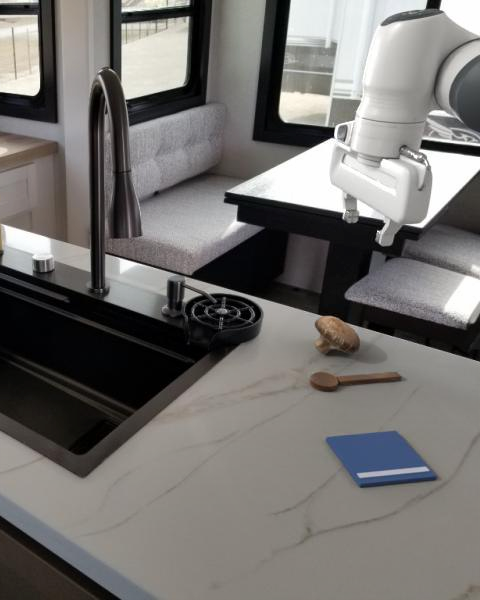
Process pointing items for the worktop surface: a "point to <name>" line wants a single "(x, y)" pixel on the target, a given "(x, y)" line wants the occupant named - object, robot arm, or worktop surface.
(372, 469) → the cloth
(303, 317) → the worktop surface
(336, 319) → the mushroom
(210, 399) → the worktop surface
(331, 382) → the spoon
